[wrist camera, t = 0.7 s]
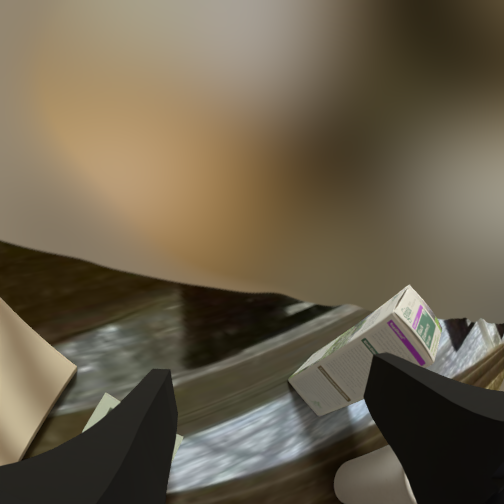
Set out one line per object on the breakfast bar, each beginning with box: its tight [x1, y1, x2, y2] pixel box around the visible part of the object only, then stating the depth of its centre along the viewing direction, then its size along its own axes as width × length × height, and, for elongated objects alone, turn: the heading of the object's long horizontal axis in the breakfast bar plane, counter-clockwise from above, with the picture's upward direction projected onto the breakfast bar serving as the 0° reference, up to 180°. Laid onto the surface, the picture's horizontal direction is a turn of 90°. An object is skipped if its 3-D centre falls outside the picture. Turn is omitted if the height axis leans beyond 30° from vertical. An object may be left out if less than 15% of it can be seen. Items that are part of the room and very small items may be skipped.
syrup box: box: [288, 285, 442, 416], centre depth 25 cm, size 6×6×14 cm
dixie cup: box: [334, 445, 417, 504], centre depth 19 cm, size 8×8×10 cm
